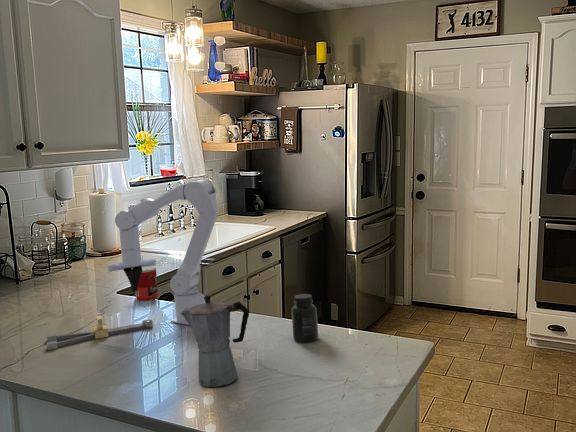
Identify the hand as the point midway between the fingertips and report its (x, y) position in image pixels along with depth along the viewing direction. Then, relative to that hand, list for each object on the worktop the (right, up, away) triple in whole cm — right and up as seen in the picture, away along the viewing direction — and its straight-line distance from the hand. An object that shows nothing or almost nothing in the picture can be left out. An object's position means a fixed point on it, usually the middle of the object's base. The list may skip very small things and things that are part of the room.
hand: (134, 290), depth 179 cm
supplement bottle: (+53, -10, -24) cm, 59 cm away
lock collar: (-7, -12, -12) cm, 18 cm away
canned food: (-3, -6, +26) cm, 27 cm away
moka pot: (+32, -14, -48) cm, 59 cm away
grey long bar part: (-6, -12, -12) cm, 18 cm away
